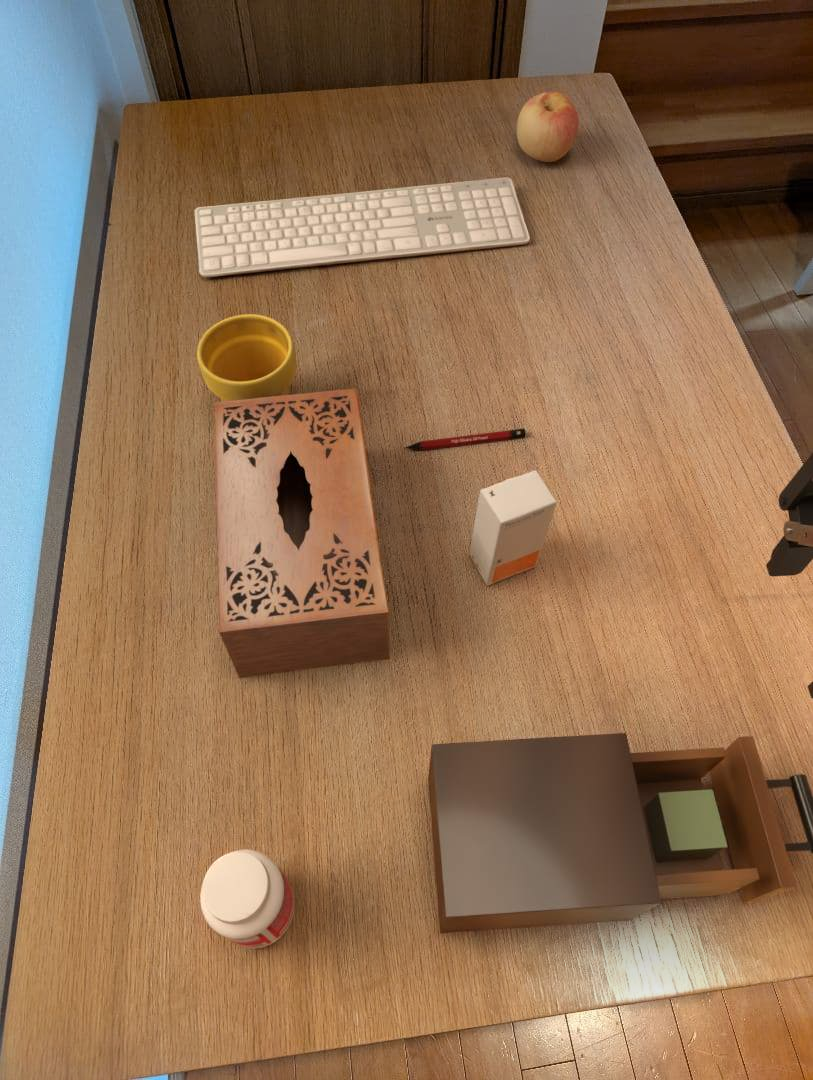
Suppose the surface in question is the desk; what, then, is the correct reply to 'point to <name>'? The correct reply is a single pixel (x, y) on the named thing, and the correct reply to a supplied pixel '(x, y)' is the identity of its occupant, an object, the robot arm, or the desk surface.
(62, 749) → the desk surface
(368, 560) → the tissue box cover
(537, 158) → the apple
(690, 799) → the block
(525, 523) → the cosmetic box
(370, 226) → the keyboard
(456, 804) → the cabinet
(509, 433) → the pencil
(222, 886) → the pill bottle
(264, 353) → the flower pot
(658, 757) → the drawer
